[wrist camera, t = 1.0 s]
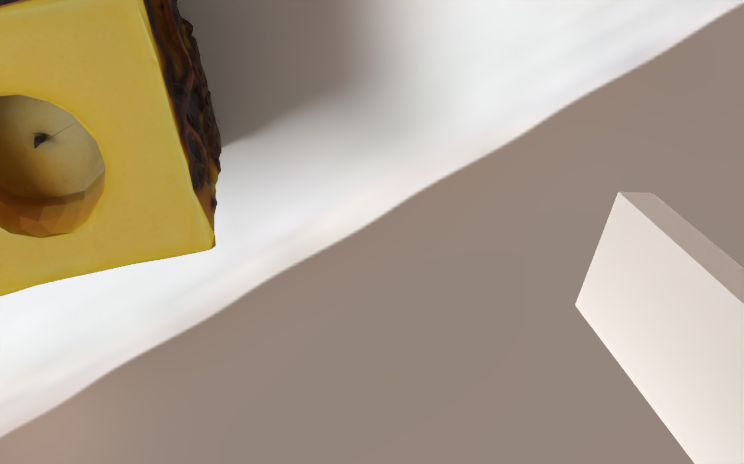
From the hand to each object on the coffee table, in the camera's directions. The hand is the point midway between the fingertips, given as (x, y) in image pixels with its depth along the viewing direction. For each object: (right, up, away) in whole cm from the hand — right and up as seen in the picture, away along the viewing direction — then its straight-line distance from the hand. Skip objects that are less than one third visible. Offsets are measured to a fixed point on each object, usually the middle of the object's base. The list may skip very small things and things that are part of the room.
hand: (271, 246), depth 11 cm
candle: (-11, +8, +18) cm, 23 cm away
